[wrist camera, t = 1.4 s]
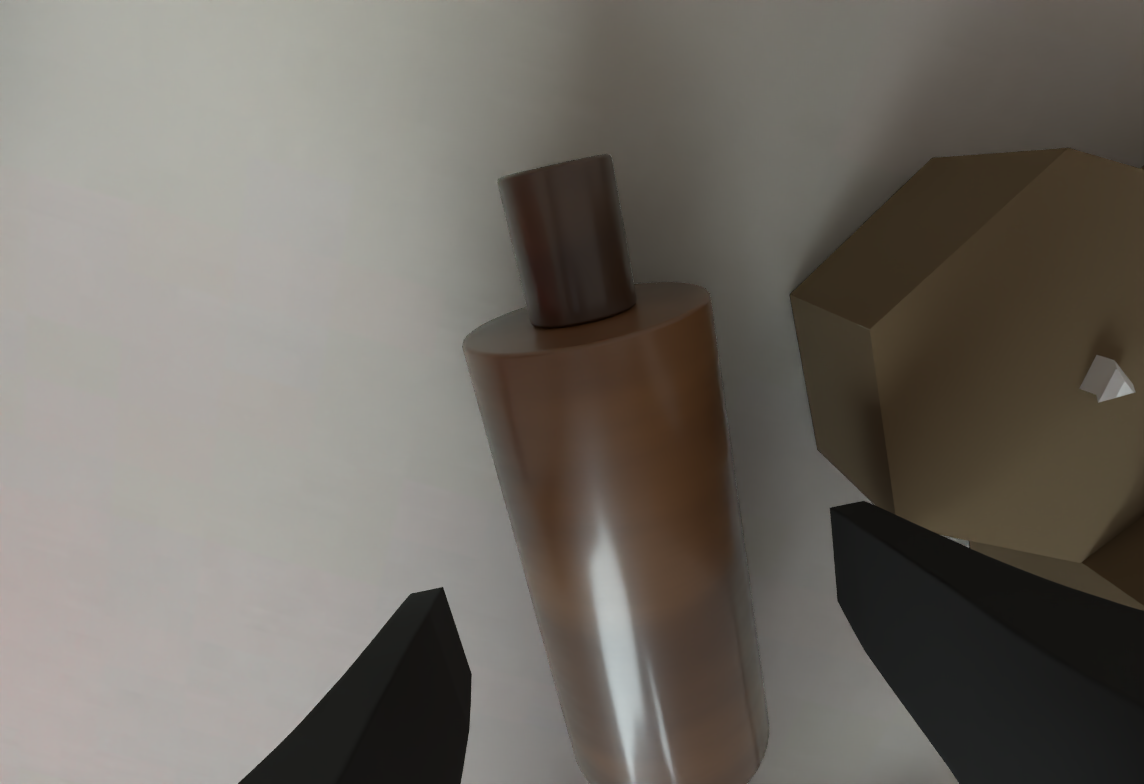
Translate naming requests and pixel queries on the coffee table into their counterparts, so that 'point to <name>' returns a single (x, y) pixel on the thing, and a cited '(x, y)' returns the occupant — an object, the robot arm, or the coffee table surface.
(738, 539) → the rolling pin
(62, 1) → the coffee table surface
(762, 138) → the coffee table surface
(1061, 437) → the candle
